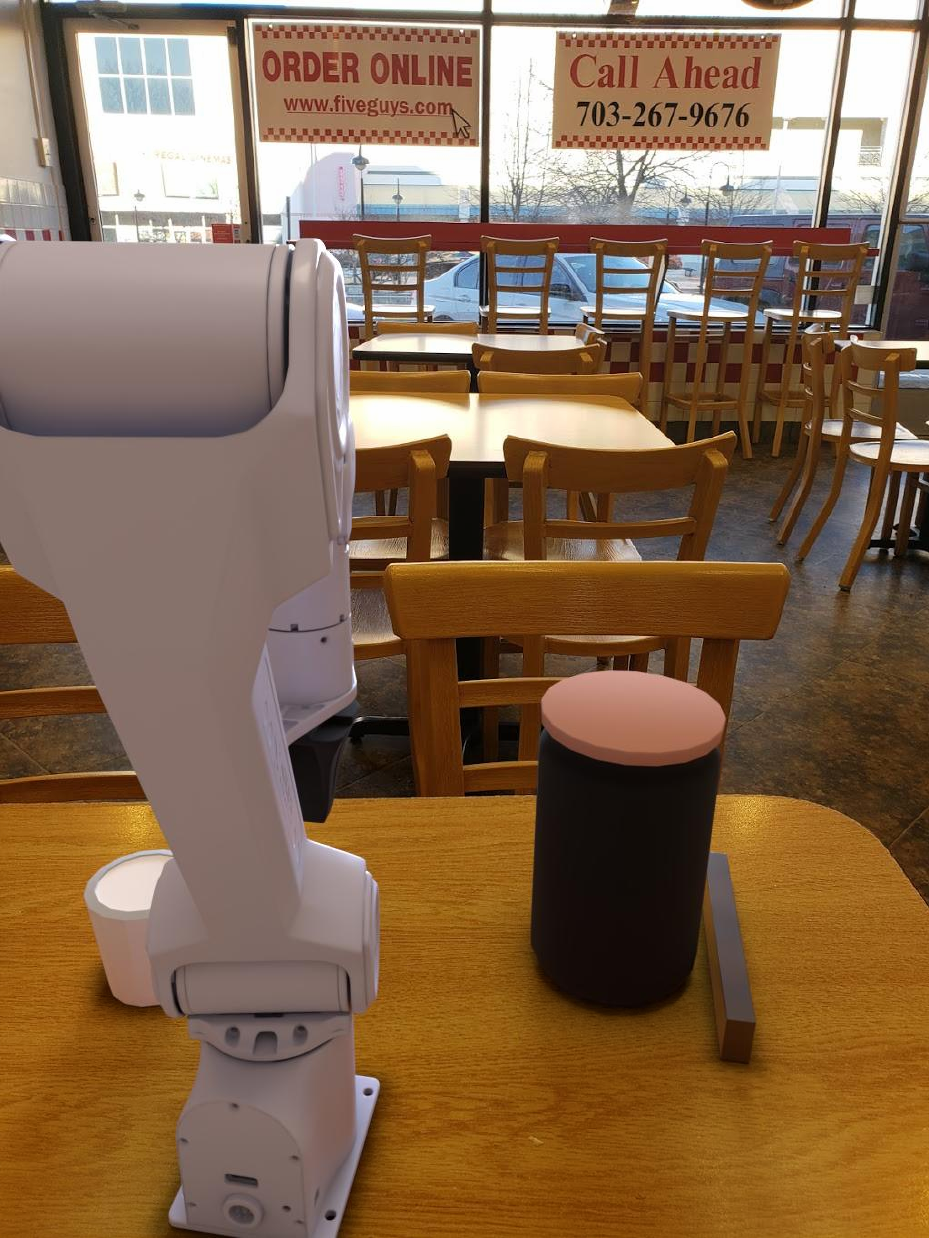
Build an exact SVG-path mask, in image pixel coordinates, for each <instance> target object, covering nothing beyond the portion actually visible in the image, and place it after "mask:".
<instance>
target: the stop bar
mask: <svg viewBox="0 0 929 1238" xmlns="http://www.w3.org/2000/svg"><path fill="white" fill-rule="evenodd" d="M702 916H703V926H704V935H705V942H706V950H707V958H708V959H707V960H708V965H709V966H708V968H709V974H710V982H711V990H712V998H713V999H712V1000H713V1007H714V1017H715V1025H716V1034H717V1040H718V1047H719V1048H718V1049H719V1058H720V1060H722V1061H728V1062H736V1063H744V1064H750V1062H751V1055H752V1049H753V1044H754V1037H755V1031H756V1025H757V1021H756V1015H755V1009H754V1003H753V997H752V992H751V987H750V986H751V985H750V980H749V974H748V969H747V963H746V962H747V961H746V956H745V952H744V946H743V939H742V934H741V928H740V924H739V923H740V922H739V917H738V911H737V905H736V898H735V893H734V887H733V881H732V875H731V870H730V864H729V858H728V854H727V853H725V852H724V853H723V852H716V851H715V852H714V851H710V853H709V860H708V868H707V876H706V884H705V892H704V900H703V908H702Z"/></svg>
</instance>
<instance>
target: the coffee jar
mask: <svg viewBox="0 0 929 1238" xmlns="http://www.w3.org/2000/svg"><path fill="white" fill-rule="evenodd" d="M540 706H541V724H542V726H543V727H544V728H543V730H542V731H541V733H540V735H539V737H538V754H537V755H538V756H537V776H536V777H537V778H536V794H535V795H536V797H535V799H536V800H535V816H534V817H535V819H534V842H533V860H532V861H533V863H532V884H531V906H530V909H531V910H530V926H529V927H530V946H531V949H532V950H533V952H534V955H535V957H536V959H537V960H538V963H539V965H540V967H541V968H542V970H543V971H544V972H545V973H546V975H547V976H548V977H549V978H550V979H551V980H552V981H553V982H554V983H555V984H556V985H557V986H558V987H559V988H560V989H561V990H562V991H564V992H566V993H567V994H570V995H572V996H573V997H575V998H577V999H578V1000H581V1001H582V1002H587V1003H589V1004H593V1005H595V1006H600V1007H604V1008H612V1009H613V1008H616V1009H634V1008H635V1009H636V1008H639V1007H643V1006H650V1005H653V1004H655V1003H657V1002H658V1001H661V1000H663V999H665V998H667V997H668V996H669V995H671V994H672V993H673V992H674V991H676V990H678V989H679V987H681V985H682V984H683V983H684V982H685V980H686V979H687V978H688V977H689V975H690V974H691V973H692V971H693V970H694V967H695V963H696V958H697V953H698V946H699V939H700V932H701V931H700V929H701V924H702V923H701V922H702V916H703V909H702V908H703V900H704V892H705V884H706V876H707V868H708V860H709V853H710V852H711V844H712V836H713V835H712V834H713V828H714V821H715V814H716V813H715V812H716V804H717V797H718V796H717V795H718V789H719V780H720V772H721V764H722V755H721V751H720V749H719V746H718V745H720V744H721V741H722V737H723V734H724V730H725V725H726V722H727V718H726V716H725V713H724V710H723V709H722V707H721V704H720V703H719V702H718V701H717V700H715V699H714V698H713V697H711V696H710V695H709V694H708V693H707V692H706V691H703V690H701V689H700V688H697V687H695V686H693V685H691V684H690V683H688V682H685V681H682V680H678V679H675V678H673V677H668V676H665V675H661V674H656V673H650V672H643V671H642V672H641V671H636V670H635V671H634V670H610V669H609V670H601V671H600V670H599V671H591V672H584V673H581V674H577V675H573V676H570V677H566V678H563V679H561V680H560V681H558V682H556V683H555V684H553V685H551V686H550V687H549V688H548V689H547V690H546V692H545V693H544V695H543V696H542V698H541V699H540Z"/></svg>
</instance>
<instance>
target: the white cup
mask: <svg viewBox="0 0 929 1238" xmlns="http://www.w3.org/2000/svg"><path fill="white" fill-rule="evenodd" d="M172 858H174V856H173V854H172V852H171V850H170V849H165V848H160V849H150V850H148V849H147V850H140V851H137V852H134V853H130V854H127V855H123V856H121V857H117V858H116V859H114V860H113V861H110V862H109V863H107V864H105V865H104V866H102V867H100V868H99V869H98V870H97V871H96V872H95V874H94V875H93V876H92V877H90V879H88V880H87V883H86V886H85V889H84V892H83V899H84V902H85V905H86V909H87V912H88V916H89V919H90V923H91V926H92V930H93V933H94V937H95V940H96V944H97V947H98V951H99V954H100V958H101V961H102V965H103V969H104V972H105V975H106V978H107V979H106V980H107V982H108V986H109V988H110V992H111V994H112V996H113V997H114V998H116V999H117V1000H118V1001H120V1002H121V1003H123V1004H124V1005H128V1006H129V1005H130V1006H135V1007H140V1008H143V1007H151V1006H152V1007H153V1006H161V1005H160V1004H159V1003H158V1002H157V1000H156V998H155V995H154V991H153V986H152V977H151V963H150V960H149V957H148V954H147V951H146V948H145V942H146V933H147V925H148V919H149V913H150V907H151V903H152V898H153V894H154V890H155V887H156V883H157V880H158V878H159V877H160V876H161V873H162V870H163V867H164V864H165V863H166V862H167V861H168V860H170V859H172Z"/></svg>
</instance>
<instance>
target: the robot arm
mask: <svg viewBox="0 0 929 1238" xmlns="http://www.w3.org/2000/svg"><path fill="white" fill-rule="evenodd" d="M345 287H346V286H345V280H344V274H343V270H342V266H341V263H340V262H339V261H338V260H337V258H335V257H334V255H333V254H331V253H330V251H328V250H327V249H326V246H325V244H324V242H323V241H322V240H321V239H318V238H315V237H314V238H312V237H311V238H309V237H308V238H307V237H305V238H304V237H303V238H299V239H298V240H296V242H295V246H294V245H293V244H290V243H289V244H288V243H287V244H283V243H279V244H278V243H217V242H213V243H212V242H210V243H209V242H152V241H151V242H148V241H147V242H146V241H145V242H143V241H78V240H77V241H75V240H74V241H73V240H72V241H70V240H16V239H15V238H14V237H11V236H10V235H8V234H6V233H0V545H1V547H2V549H3V550H4V552H5V554H6V557H7V559H8V560H9V562H10V564H11V566H12V569H13V571H14V572H15V574H17V575H18V576H20V577H22V578H23V579H25V580H27V581H29V582H30V583H32V584H33V585H35V586H36V587H38V588H40V589H41V590H43V591H45V592H46V593H48V594H50V595H51V596H53V597H55V598H56V599H58V600H60V601H61V602H63V605H64V607H65V610H66V613H67V616H68V618H69V621H70V624H71V626H72V629H73V632H74V635H75V638H76V640H77V643H78V646H79V648H80V651H81V654H82V656H83V659H84V661H85V664H86V667H87V668H88V672H89V673H90V676H91V678H92V681H93V684H94V685H95V688H96V690H97V693H98V695H99V696H100V698H101V701H102V704H103V705H104V707H105V710H106V712H107V714H108V716H109V719H110V721H111V723H112V725H113V727H114V730H115V732H116V733H117V736H118V738H119V741H120V743H121V745H122V747H123V749H124V751H125V753H126V756H127V758H128V760H129V762H130V764H131V767H132V769H133V771H134V773H135V776H136V777H137V780H138V782H139V784H140V786H141V788H142V791H143V793H144V795H145V797H146V799H147V801H148V804H149V806H150V808H151V810H152V812H153V815H154V817H155V819H156V822H157V824H158V826H159V828H160V830H161V833H162V835H163V837H164V839H165V841H166V843H167V846H168V848H169V850H171V852H172V854H173V856H174V858H172V859H170V860H168V861H167V862H166V863H165V864H164V867H163V870H162V873H161V876H160V877H159V878H158V880H157V883H156V887H155V890H154V894H153V898H152V903H151V907H150V913H149V919H148V925H147V933H146V942H145V948H146V951H147V954H148V957H149V960H150V963H151V977H152V986H153V991H154V995H155V998H156V1000H157V1002H158V1003H159V1004H160V1005H159V1006H160V1007H161V1008H162V1011H163V1012H164V1014H165V1015H166V1017H169V1018H171V1019H176V1018H177V1019H178V1018H185V1017H186V1023H187V1031H188V1032H187V1033H188V1038H189V1039H191V1040H200V1052H199V1063H198V1067H197V1072H196V1075H195V1078H194V1083H193V1086H192V1088H191V1090H190V1093H189V1095H188V1097H187V1100H186V1102H185V1104H184V1106H183V1108H182V1109H181V1112H180V1114H179V1117H178V1120H177V1123H176V1128H175V1145H176V1152H177V1160H178V1167H179V1175H180V1182H181V1185H180V1188H179V1189H178V1192H177V1193H176V1196H175V1198H174V1200H173V1202H172V1204H171V1206H170V1208H169V1211H168V1214H167V1215H168V1216H167V1217H168V1221H169V1222H168V1223H169V1224H170V1225H171V1226H172V1227H174V1228H177V1229H185V1230H190V1231H196V1232H202V1233H207V1234H212V1235H213V1234H215V1235H220V1236H225V1237H231V1238H338V1234H339V1230H340V1228H341V1224H342V1220H343V1217H344V1213H345V1210H346V1208H347V1207H346V1206H347V1204H348V1200H349V1196H350V1193H351V1189H352V1187H353V1184H354V1183H353V1182H354V1179H355V1176H356V1173H357V1169H358V1166H359V1162H360V1160H361V1155H362V1153H363V1149H364V1146H365V1141H366V1138H367V1136H368V1131H369V1128H370V1125H371V1121H372V1118H373V1114H374V1111H375V1107H376V1104H377V1101H378V1097H379V1094H380V1088H381V1084H380V1081H379V1080H378V1079H377V1078H376V1077H370V1076H364V1075H357V1074H356V1053H355V1050H356V1049H355V1027H354V1026H355V1025H354V1014H355V1015H359V1014H360V1015H364V1014H366V1013H367V1012H368V1009H369V1008H370V1007H371V1006H372V1005H373V1004H374V1003H375V1002H376V1000H377V999H378V992H379V977H380V976H379V975H380V943H381V941H380V938H381V937H380V936H381V935H380V932H381V931H380V930H381V929H380V928H381V925H380V923H381V922H380V921H381V920H380V919H381V917H380V916H381V914H380V913H381V911H380V889H379V888H380V887H379V884H378V883H377V882H376V880H375V879H374V878H373V875H372V874H371V872H369V871H368V870H367V861H366V859H364V858H363V857H361V856H358V855H356V854H353V853H350V852H347V851H344V850H342V849H338V848H335V847H332V846H329V845H326V844H323V843H319V842H317V841H314V840H312V839H309V838H308V837H307V833H306V828H305V823H315V824H325V823H326V821H327V819H328V817H329V815H330V813H331V811H332V808H333V805H334V799H335V796H336V792H337V791H336V790H337V784H338V778H339V773H340V766H341V763H342V757H343V753H344V750H345V747H346V743H347V741H348V737H349V735H350V732H351V730H352V727H353V725H354V723H355V721H356V719H357V718H358V715H359V713H360V712H361V711H360V709H361V708H360V703H359V701H357V700H355V699H356V697H357V694H358V689H357V688H358V687H357V686H358V685H357V682H358V681H357V676H356V672H355V667H354V666H355V651H354V638H353V635H352V634H353V633H352V610H351V609H352V605H351V575H350V546H349V540H350V536H351V534H352V533H351V532H352V528H353V527H352V525H353V524H352V523H353V521H352V519H353V513H352V512H353V511H352V510H353V509H352V506H353V497H354V492H355V485H356V437H355V428H354V422H353V419H352V414H351V413H350V347H349V343H350V342H349V325H348V310H347V309H348V308H347V298H346V288H345ZM304 822H305V823H304ZM367 1094H370V1095H367ZM329 1217H334V1218H333V1219H332V1220H328V1218H329Z"/></svg>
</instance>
